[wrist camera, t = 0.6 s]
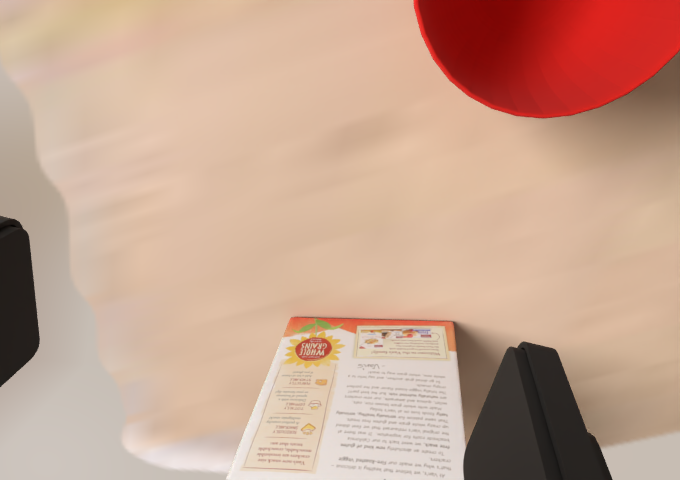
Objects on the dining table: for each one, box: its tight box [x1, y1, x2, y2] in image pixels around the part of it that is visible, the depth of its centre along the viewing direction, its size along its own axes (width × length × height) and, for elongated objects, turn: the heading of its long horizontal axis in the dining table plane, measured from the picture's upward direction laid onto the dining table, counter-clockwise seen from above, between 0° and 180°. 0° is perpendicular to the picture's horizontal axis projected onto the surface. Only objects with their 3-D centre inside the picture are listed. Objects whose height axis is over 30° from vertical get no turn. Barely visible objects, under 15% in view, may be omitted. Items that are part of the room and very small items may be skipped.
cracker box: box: [226, 317, 466, 480], centre depth 35 cm, size 14×6×21 cm, turn 93°
